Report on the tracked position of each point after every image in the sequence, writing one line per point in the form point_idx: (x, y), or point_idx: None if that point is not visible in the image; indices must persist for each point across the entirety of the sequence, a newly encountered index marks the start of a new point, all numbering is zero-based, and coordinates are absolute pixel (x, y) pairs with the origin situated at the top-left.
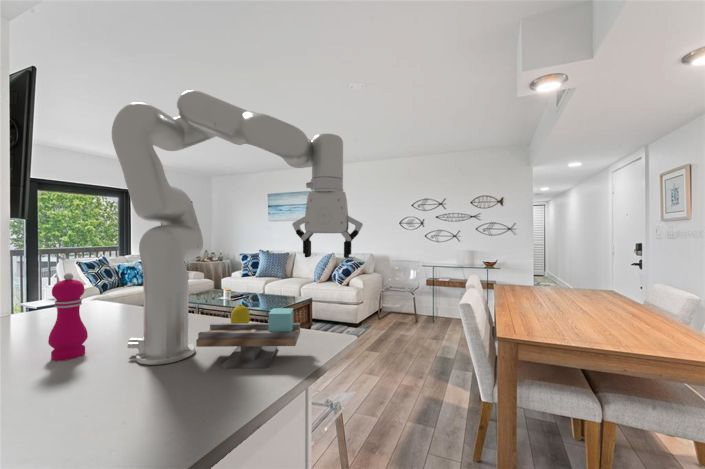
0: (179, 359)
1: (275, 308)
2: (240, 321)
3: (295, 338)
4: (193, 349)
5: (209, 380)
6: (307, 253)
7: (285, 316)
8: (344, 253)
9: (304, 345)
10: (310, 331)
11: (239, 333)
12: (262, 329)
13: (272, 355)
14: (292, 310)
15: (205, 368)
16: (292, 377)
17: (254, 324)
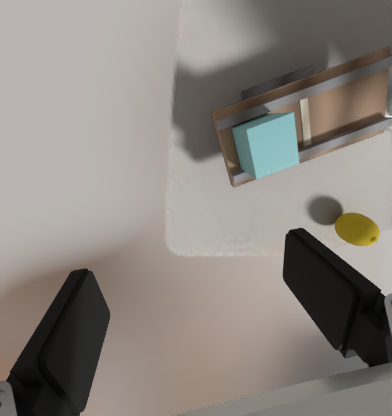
0: None
1: (293, 164)
2: (348, 217)
3: (216, 118)
4: None
5: (308, 13)
6: (298, 241)
7: (254, 125)
8: (77, 285)
9: (223, 196)
10: (236, 251)
11: (323, 82)
12: None
13: None
14: (253, 166)
15: (332, 58)
16: (190, 67)
17: (314, 147)
